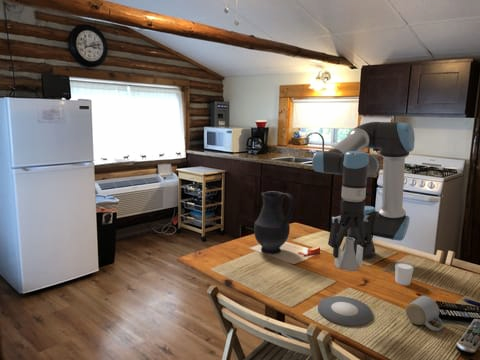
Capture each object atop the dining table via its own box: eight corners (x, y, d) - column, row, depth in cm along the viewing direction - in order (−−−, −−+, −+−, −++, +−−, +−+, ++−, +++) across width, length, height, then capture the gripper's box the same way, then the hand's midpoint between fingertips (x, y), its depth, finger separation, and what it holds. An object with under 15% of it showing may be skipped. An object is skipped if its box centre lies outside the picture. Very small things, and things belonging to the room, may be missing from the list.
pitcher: (268, 241, 197) (271, 185, 191) (301, 252, 183) (305, 192, 177) (246, 250, 184) (247, 190, 179) (279, 262, 170) (282, 198, 165)
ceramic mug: (402, 319, 125) (405, 298, 124) (416, 312, 130) (419, 292, 128) (434, 336, 117) (437, 313, 115) (447, 327, 121) (450, 306, 120)
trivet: (354, 296, 140) (354, 293, 140) (383, 322, 123) (383, 319, 123) (309, 301, 136) (309, 298, 136) (332, 329, 119) (333, 325, 119)
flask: (360, 272, 122) (362, 243, 121) (337, 270, 124) (339, 241, 122) (358, 264, 129) (360, 236, 127) (336, 261, 131) (338, 234, 129)
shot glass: (411, 280, 155) (412, 264, 154) (412, 287, 149) (414, 270, 147) (393, 277, 157) (394, 261, 156) (394, 284, 151) (395, 268, 150)
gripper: (330, 203, 116) (325, 272, 121) (387, 200, 121) (381, 267, 125) (319, 197, 123) (315, 263, 128) (373, 195, 128) (368, 259, 132)
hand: (348, 265), depth 126 cm, fingers closed on flask, 7 cm apart
